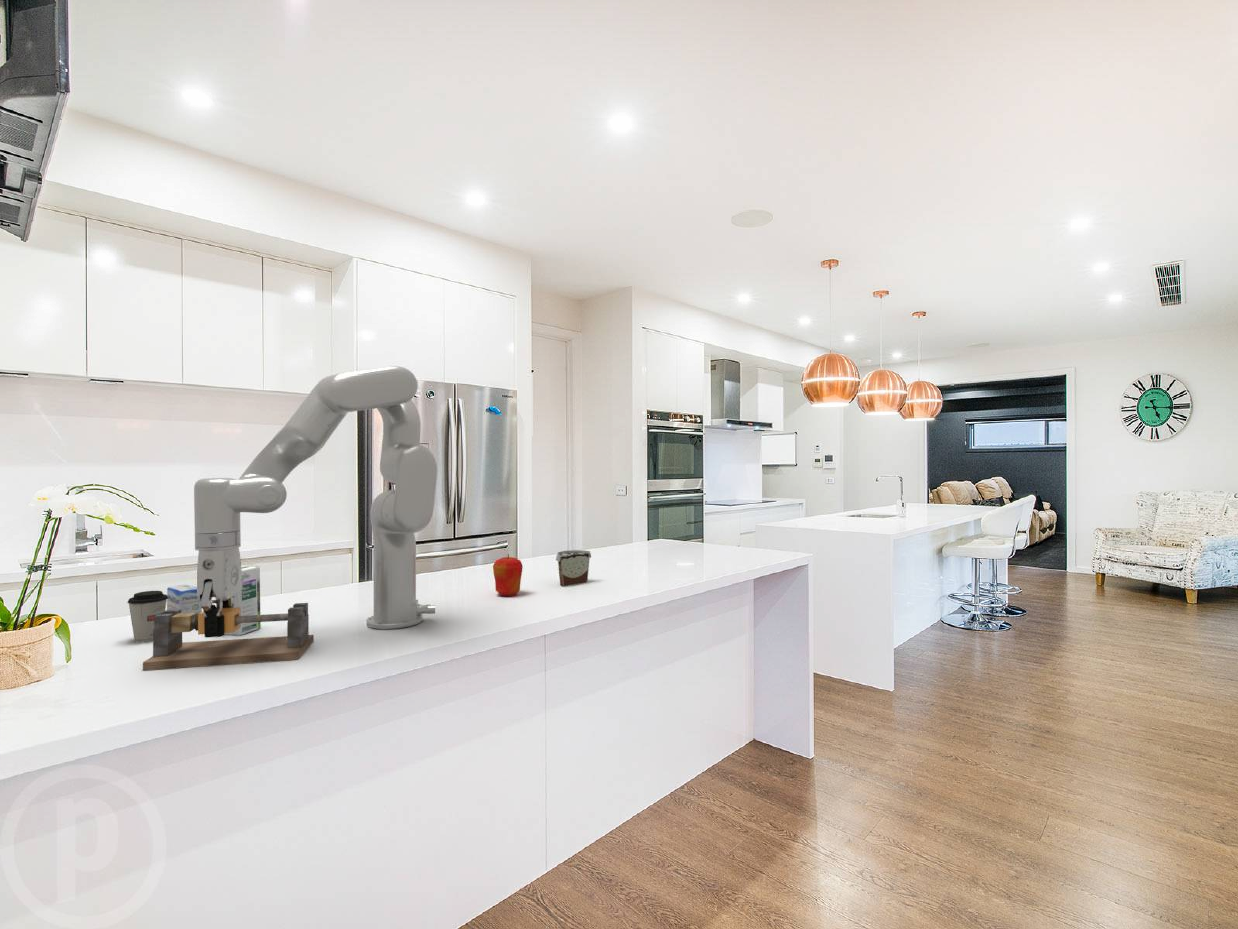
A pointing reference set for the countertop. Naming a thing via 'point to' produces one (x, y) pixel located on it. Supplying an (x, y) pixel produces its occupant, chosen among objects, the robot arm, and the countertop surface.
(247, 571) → the syrup box
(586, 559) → the food container
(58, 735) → the countertop surface
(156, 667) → the rail
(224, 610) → the sleeve
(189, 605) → the medicine box
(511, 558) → the apple
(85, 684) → the countertop surface
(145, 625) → the black-capped travel mug
